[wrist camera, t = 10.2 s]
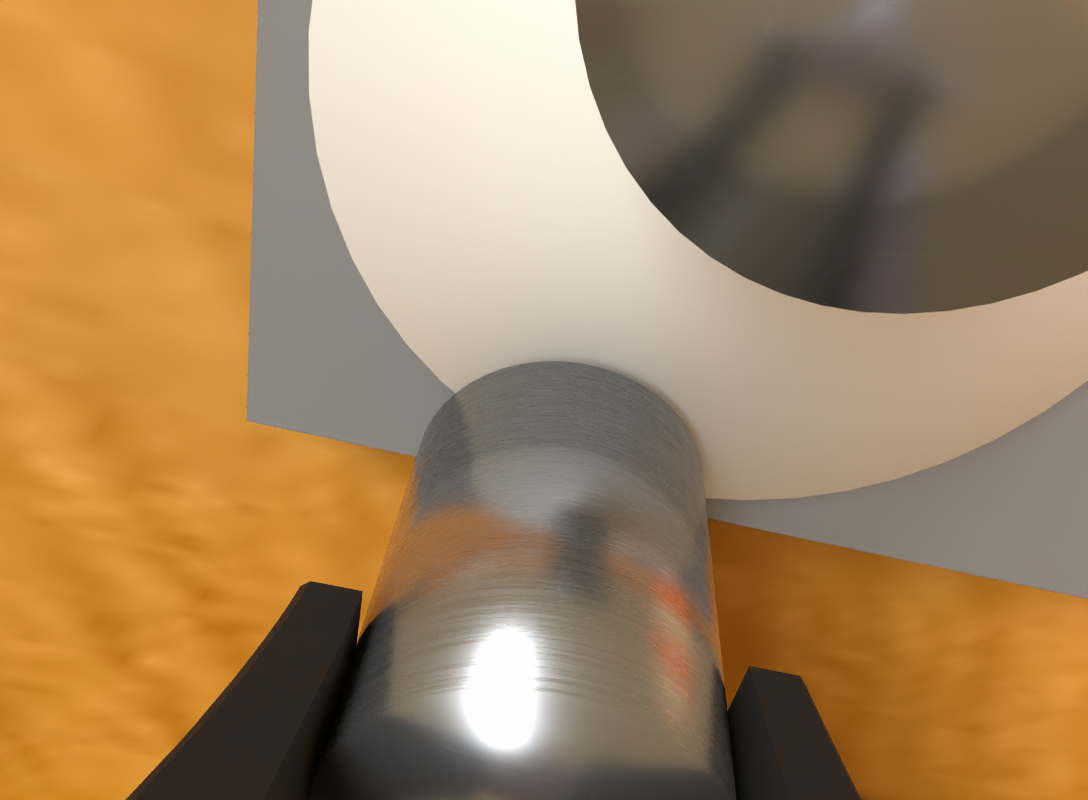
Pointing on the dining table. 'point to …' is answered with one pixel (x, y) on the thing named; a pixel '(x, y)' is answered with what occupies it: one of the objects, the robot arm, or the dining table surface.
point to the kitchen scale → (623, 299)
